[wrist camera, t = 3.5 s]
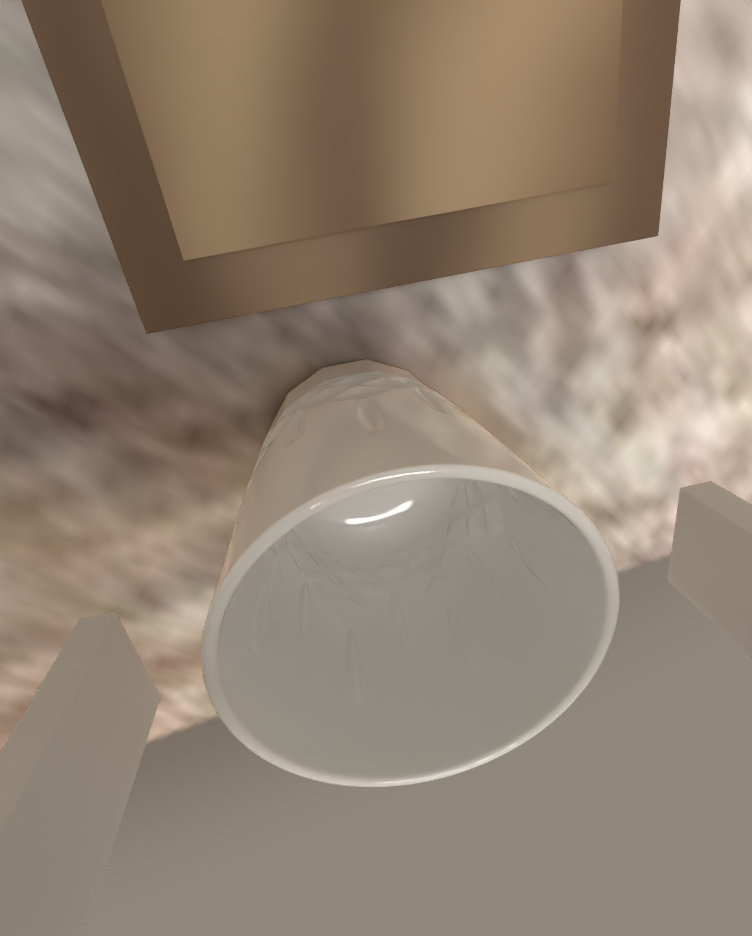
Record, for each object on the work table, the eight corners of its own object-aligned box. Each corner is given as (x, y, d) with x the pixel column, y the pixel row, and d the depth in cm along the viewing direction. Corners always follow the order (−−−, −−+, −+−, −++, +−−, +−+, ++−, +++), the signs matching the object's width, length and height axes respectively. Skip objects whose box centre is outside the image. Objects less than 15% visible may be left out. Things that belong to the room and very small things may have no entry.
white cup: (337, 568, 20) (369, 833, 11) (204, 430, 17) (94, 649, 8) (496, 463, 19) (672, 662, 10) (388, 292, 16) (510, 363, 7)
